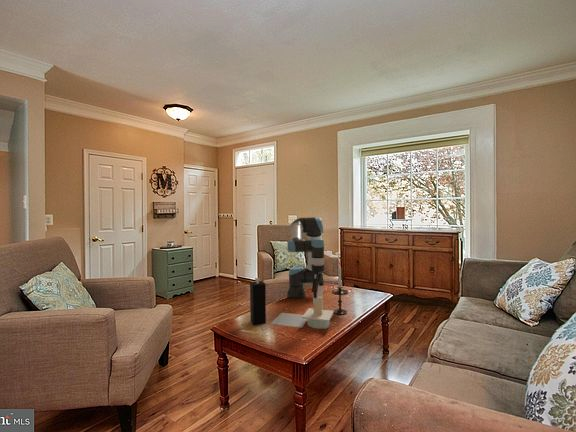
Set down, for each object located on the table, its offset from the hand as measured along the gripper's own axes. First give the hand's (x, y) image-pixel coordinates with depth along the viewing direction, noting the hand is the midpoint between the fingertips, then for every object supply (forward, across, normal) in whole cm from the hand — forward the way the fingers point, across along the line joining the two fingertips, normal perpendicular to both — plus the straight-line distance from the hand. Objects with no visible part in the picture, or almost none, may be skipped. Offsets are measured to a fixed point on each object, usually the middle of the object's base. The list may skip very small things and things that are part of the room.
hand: (318, 299), depth 177 cm
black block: (+15, +9, -36) cm, 40 cm away
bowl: (+15, +1, 0) cm, 15 cm away
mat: (+15, -1, -18) cm, 24 cm away
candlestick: (+16, -24, +9) cm, 30 cm away
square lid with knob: (+9, 0, 0) cm, 9 cm away
